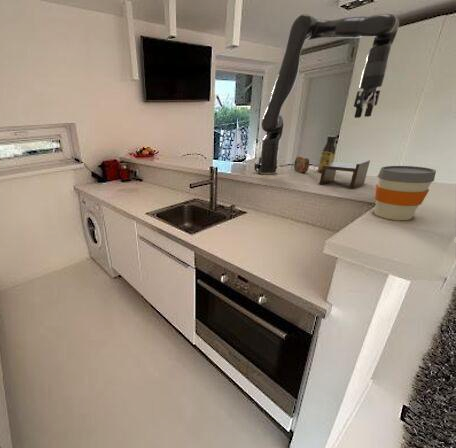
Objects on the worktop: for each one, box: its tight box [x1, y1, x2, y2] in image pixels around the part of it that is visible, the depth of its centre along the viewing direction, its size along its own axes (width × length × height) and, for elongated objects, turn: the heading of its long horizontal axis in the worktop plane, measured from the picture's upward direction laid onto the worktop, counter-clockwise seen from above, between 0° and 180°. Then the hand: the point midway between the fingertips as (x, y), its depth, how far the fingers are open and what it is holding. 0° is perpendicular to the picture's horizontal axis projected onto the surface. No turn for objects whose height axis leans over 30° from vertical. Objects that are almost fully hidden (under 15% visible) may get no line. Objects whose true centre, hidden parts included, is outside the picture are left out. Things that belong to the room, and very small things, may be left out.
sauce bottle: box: [317, 135, 337, 173], centre depth 140 cm, size 7×6×20 cm
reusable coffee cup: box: [374, 165, 437, 221], centre depth 77 cm, size 13×13×15 cm
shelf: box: [318, 159, 371, 190], centre depth 115 cm, size 14×12×11 cm
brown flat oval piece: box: [293, 155, 310, 173], centre depth 147 cm, size 15×3×8 cm, turn 172°
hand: (362, 117), depth 109 cm, fingers open, 8 cm apart
